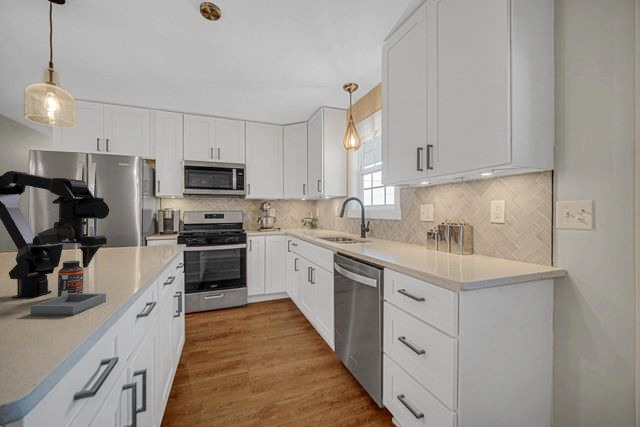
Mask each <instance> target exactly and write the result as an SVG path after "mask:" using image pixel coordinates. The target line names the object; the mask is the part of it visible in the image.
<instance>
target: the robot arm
mask: <svg viewBox="0 0 640 427" xmlns="http://www.w3.org/2000/svg"><path fill="white" fill-rule="evenodd" d="M12 184H14V185H12ZM26 187H31V188H35V189H36V188H37V189H43V190H47V191H49V192H50V193H51V194H53V195H56V196H58V197H57V198H55V199H54V200H53V201H52V202H51V204H54V205H55V204H56V205H58V221H54V223H53V227H52V228H48V229H45V230H43V231H41V232H39V233H37V235H35V233H34V231H33V229H32V227H31V226H30V224H29V223H28V221H27V219H26V217H25V216H24V213H23V212H22V210H21V209H20V207H19V206H20V203H21V195H22V194H23V193H25V192H26ZM109 213H110V208H109V206H108V204H107V203H106V202H105V199H104V197H97V196H96V197H95V196H94V194H93V193H92V191H91V190H90V189H89V187H88V185H87V183H86V181H84V180H82V179H75V178H67V177H46V176H42V175H36V174H31V173H28V172H25V171H24V172H23V171H17V170H16V171H15V170H9V171H6V172H5V173H3V174H2V175H0V221H1V222H2V224H3V226H4V228H5V229H6V231H7V232H8V235H9V236H10V238H11V240H12V242H13V244H14V245H15V247H16V249H17V254H16V257H15V261H16V265H15V266H13V267H12V269H11V270H9V271H8V275H9V279H10V280H16V281H17V283H16V285H17V290H16V291H17V294H16V295H12V296H11V298H12V299H33V298H36V297H37V298H38V297H40V296H43V295H47V294H51V293H52V292H53V291H52V290H49V279H48V275H52V274H54V271H55V268H58V267H59V265H60V262H61V257H62V252H63V246H64V244H80V245H81V246H79V247H78V248H79V249H80V251H81V252H82V268H83V269H86V268H88V267H89V265H90V263H91V261H92V260H93V259H94V256H95V255H96V253H97V252H98V251H99V249H100V248H102V247H103V246H104V245H107V244H108V239H107V237H106V236H105V235H87V233H84V226H85V225H87V221H86V220H87V219H88V220H89V219H90V220H103V219H106V218H107V217H108V215H109ZM85 219H86V220H85ZM84 220H85V221H84Z"/></svg>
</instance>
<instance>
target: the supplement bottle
mask: <svg viewBox="0 0 640 427" xmlns="http://www.w3.org/2000/svg"><path fill="white" fill-rule="evenodd" d="M80 263H81V262H80V260H66V261H63V262H62V267H61V269H58V272H57V275H58V276H57V297H59V296H62V295H65V294H68V293H84V268H83V266H82V267H81V264H80Z"/></svg>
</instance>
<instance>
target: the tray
mask: <svg viewBox="0 0 640 427" xmlns="http://www.w3.org/2000/svg"><path fill="white" fill-rule="evenodd" d="M106 302H107V293H104V292H103V293H99V292H97V293H95V292H94V293H90V292H89V293H88V292H87V293H86V292H85V293H84V292H83V293H68V294H65V295H62V296H59V297H58V296H57V297H53V298H51V299H47V300H43V301H42V302H38V303H34V304H32V305H30V316H35V317H36V316H37V317H38V316H39V317H40V316H41V317H42V316H43V317H44V316H45V317H47V316H48V317H49V316H54V317H56V316H57V317H58V316H59V317H60V316H61V317H62V316H63V317H64V316H66V317H71V316H72V317H74V316H76V315H78V314H79V315H80V313H83V312H85V311H87V310H90V309H93V308H95V307H96V306H99V305H101V304H103V303H106Z"/></svg>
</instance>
